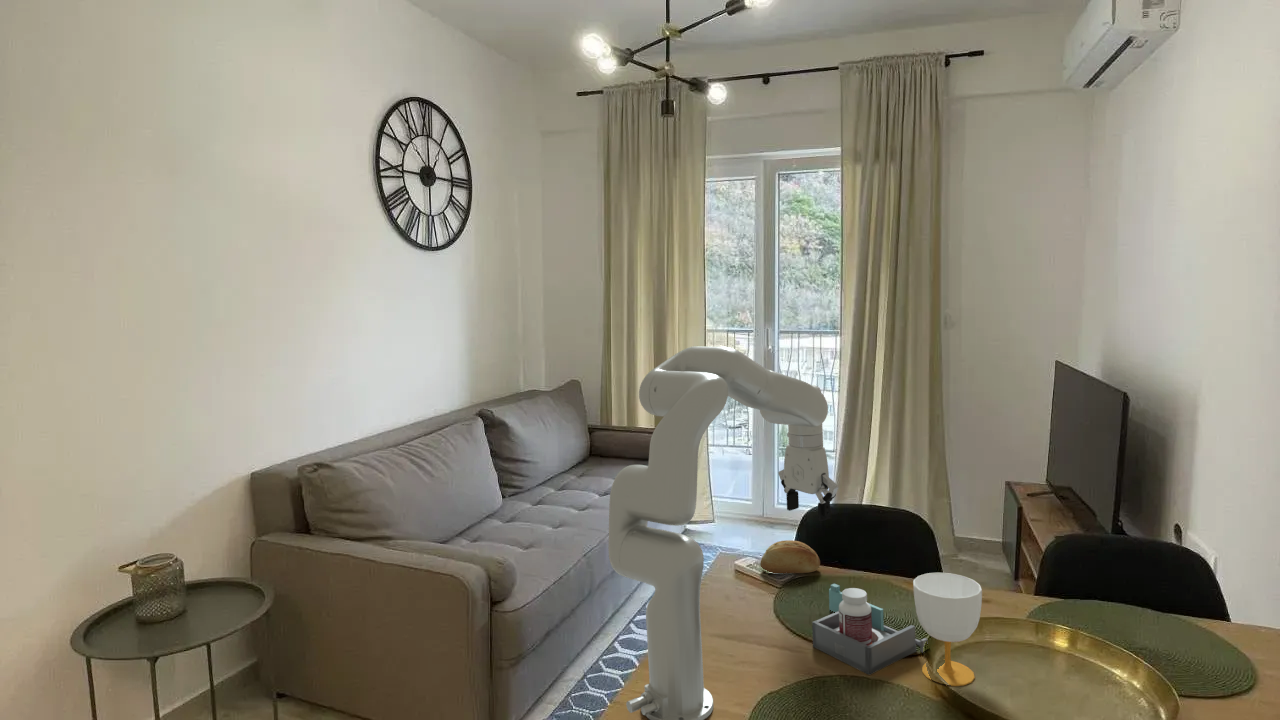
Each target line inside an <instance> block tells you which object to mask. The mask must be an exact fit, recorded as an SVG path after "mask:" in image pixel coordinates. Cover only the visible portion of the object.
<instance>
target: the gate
mask: <svg viewBox="0 0 1280 720" xmlns="http://www.w3.org/2000/svg"><path fill="white" fill-rule="evenodd" d="M828 600H829V601H828V603H829V606H828V607H829V609H828V610H829V611H830V610H831V611H830V612H832V611H833V612H832V613H834V612H837V611H839V604H840V603H841V602H842V601H843V599H842V591H841V585H839V584H836V583H832V584H830V588H828ZM869 604H870V606H871V616H872V626H873V627H875V628H877V629H880V630H882V631H884V624H885V623H884V608H881V607H879V606H877V605H874V604H871V603H869ZM884 632H885V631H884Z"/></svg>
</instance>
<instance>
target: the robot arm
mask: <svg viewBox="0 0 1280 720" xmlns="http://www.w3.org/2000/svg"><path fill="white" fill-rule="evenodd" d="M728 397H729V398H731V399H732V400H734V401H736V402H738V403H740V404H742V405H743V406H745V407H747V408H751V409H755V410H759V413H760V415H761V417H762V418H763V420H765V421H767V422H768V423H771V424H776V425H783V426H787V427H788V428H787V430H788V432H787V433H786V434H787V435H786V436H787V438H788V443H787V444H786V447H785V452H784V461H783V463H784V464H783V469H782V470H779V471H778V472H777V473H778V476H779V479H780V483H781V485H782V487H783V488H784V489H783V491H784V494H786V510H787V511H793V510H797V509H799V508H800V505H799V503H800V502H799V492H802V493H805V494H808V495H815V496H816V497H817V499H818V501H819V502H818V503H817V519H818V521H820V522H822V521H826V520H828V519H831V502H833V499H834V498H836V497H837V496H836V494H837V492H838V490H839V485H838V483H836V482H835V481H834V480H833V479H832V478H831V477H830V475H829V473H830V472H829V463H828V457H827V452H826V449H825V447H824V433H823V431H824V430H823V423H824V422H825V421H826V419H827V416H828V413H829V409H828V408H829V406H828V401H827V400H826V397H825V396H824V394H823V393H822V390H821V388H820V387H819V386H817V385H814V384H811V383H808V382H806V381H804V380H800V379H798V378H795V377H792V376H789V375H786V374H783V373H780V372H778V371H775V370H774V371H773V370H771V369H768V368H766V367H764V366H762V365H760V364H759V363H758V362H756V361H755V360H754V359H751V357H750V356H749V357H748V356H747V355H746V354H744V353H742V352H741V351H740V350H738V349H736V348H732V347H729V346H711V345H709V346H707V345H706V346H698V345H697V346H696V345H695V346H694V345H693V346H689V347H686V348H684V349H682V350H681V351H678V352H677V353H675V354H674V355H672V356H671V357H669V358H667V359H666V360H665V361H663V362H662V363H660V364H659V365H657V366H656V367H654V368H653V369H651V370H650V371H649V372H648V373H647V374H646V375H645V376H644V378H643V379H642V381H641V383H640V385H639V391H638V399H639V402H640V404H641V405H640V406H642V408H643V409H644V410H645V412H647V413H648V414H650V415H653V416H656V417H661V420H660V421H659V422H658V424H657V425H656V427H655V429H654V431H653V432H652V434H651V438H650V441H649V451H648V454H649V455H648V465H643V464H630V465H628V466H625V467H624V468H622V469H621V470H620V471H619V472H618V473H617V474H616V476H615V478H614V480H613V482H612V485H611V489H610V493H609V509H608V511H609V512H608V513H609V514H608V544H607V545H608V557H609V562H610V566H611V568H612V569H613V571H614V572H615V573H616V574H618V575H619V576H621V577H625V578H627V579H629V580H630V579H631V580H634V581H637V582H640V583H644V584H647V585H649V586H652V587H653V588H654V589H655V590H654V594H653V595H652V597H651V599H650V600H649V602H648V604H647V605H646V611H645V626H646V640H647V642H646V643H647V658H648V675H649V678H648V679H649V683H647V684H645V685H644V692H642V693H641V694H640V696H638V697H635V698H633V699H630V700H628V701H626V703H625V704H626V709H627V712H629V713H630V714H632V713H634V712H637V711H639V710H640V712H641V714H642V715H643V716H645V717H646V718H647V719H648V720H705V719H707V718H708V717H709V716H710V715H711V713H712V712H713V710H714V698H713V695H712V694H711V692H710V691H709V690H708V689H706V688H705V684H704V665H703V663H704V662H703V646H702V645H703V643H702V642H703V640H702V624H701V623H702V622H701V586H702V585H701V584H702V579H703V577H702V576H703V573H704V572H703V571H704V565H705V563H704V561H705V559H704V558H705V557H704V552H703V549H702V547H701V546H700V544H699V543H698V542H697V541H696V540H694V539H693V538H691V537H689V536H687V535H685V534H683V533H680V532H675V531H670V530H666V529H662V528H656V527H655V528H654V527H652V526H651V527H650V526H648V522H651V523H655V524H661V525H667V526H673V527H674V526H675V527H676V526H678V527H680V526H684V525H686V524H689V522H690V521H691V520H692V519H693V518H694V516H695V512H696V507H697V498H698V497H697V495H698V493H697V492H698V469H699V468H698V465H699V464H698V463H699V460H698V459H699V449H700V445H701V441H702V439H703V435H704V434H705V433H706V431H707V429H708V428H709V427H710V425H711V424H712V422H713V421H714V420H715V419H716V418H717V417H718V416H719V415H720V414H721V412H722V411H723V410H724V408H725V406H726V404H727V400H728Z"/></svg>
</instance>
